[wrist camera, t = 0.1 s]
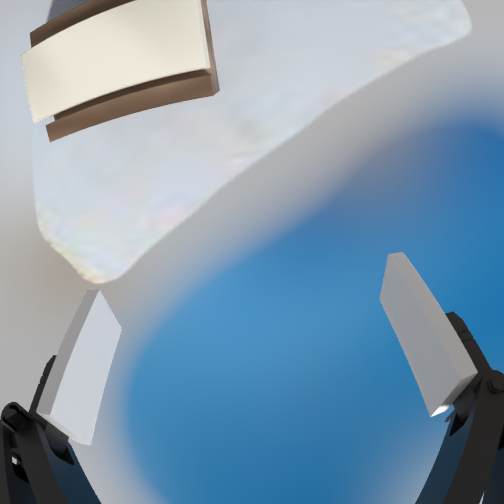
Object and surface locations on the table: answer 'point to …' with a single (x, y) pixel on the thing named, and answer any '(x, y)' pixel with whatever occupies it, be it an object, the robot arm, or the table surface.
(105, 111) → the brown channel-shaped piece
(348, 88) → the table surface
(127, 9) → the thick cream rectangular block
